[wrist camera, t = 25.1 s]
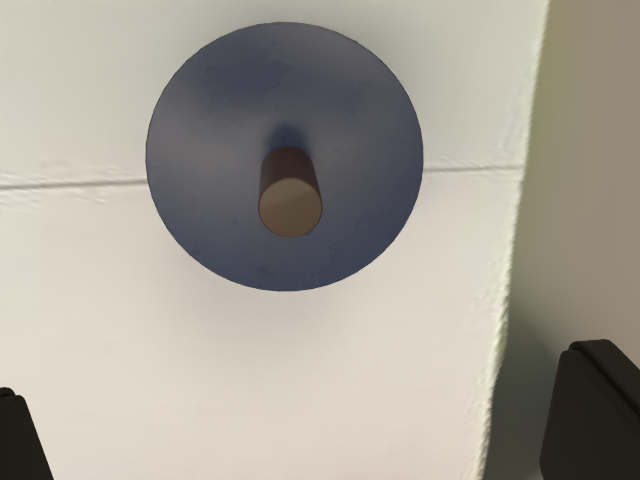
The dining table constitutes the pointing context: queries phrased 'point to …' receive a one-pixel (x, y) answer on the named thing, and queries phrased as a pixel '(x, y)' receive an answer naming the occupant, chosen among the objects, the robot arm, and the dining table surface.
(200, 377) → the dining table surface
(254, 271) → the tin lid
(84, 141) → the dining table surface
